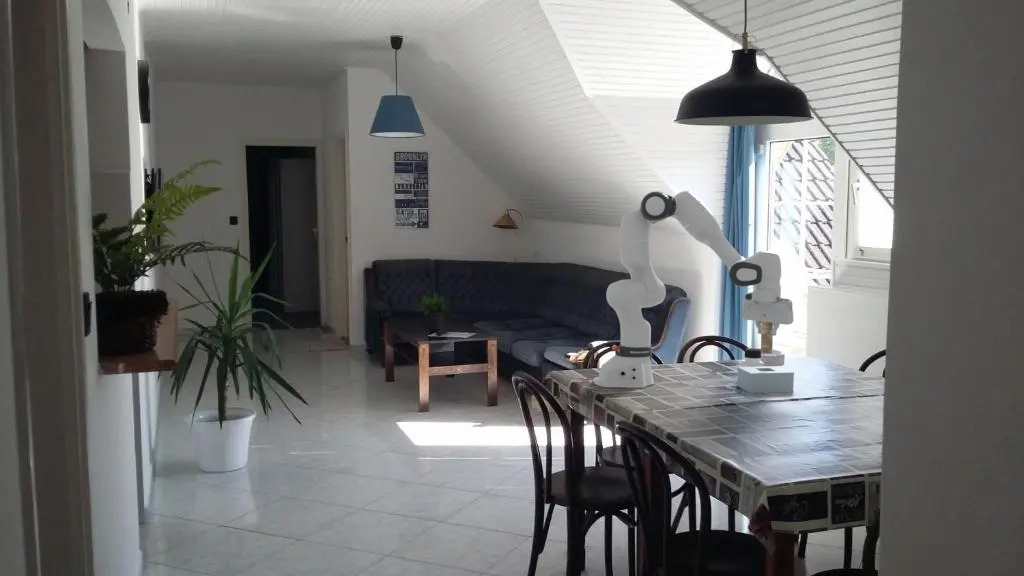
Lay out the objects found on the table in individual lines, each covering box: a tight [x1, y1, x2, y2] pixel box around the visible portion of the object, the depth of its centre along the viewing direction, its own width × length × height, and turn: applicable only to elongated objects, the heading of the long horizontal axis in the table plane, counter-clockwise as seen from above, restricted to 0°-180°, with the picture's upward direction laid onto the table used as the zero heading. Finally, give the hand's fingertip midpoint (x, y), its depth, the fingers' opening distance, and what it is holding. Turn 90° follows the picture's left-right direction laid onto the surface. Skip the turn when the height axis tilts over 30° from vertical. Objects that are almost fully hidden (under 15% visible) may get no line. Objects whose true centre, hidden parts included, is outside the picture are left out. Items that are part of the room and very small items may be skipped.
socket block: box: [736, 366, 795, 394], centre depth 319 cm, size 16×12×7 cm
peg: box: [760, 314, 774, 354], centre depth 317 cm, size 4×4×14 cm
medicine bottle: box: [740, 347, 764, 367], centre depth 334 cm, size 7×7×12 cm
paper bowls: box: [757, 347, 786, 367], centre depth 352 cm, size 15×15×8 cm
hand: (766, 334), depth 317 cm, fingers closed on peg, 4 cm apart
